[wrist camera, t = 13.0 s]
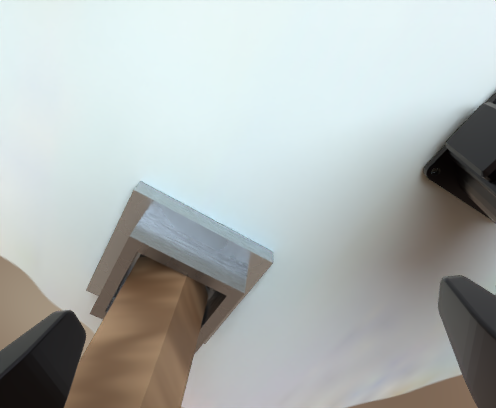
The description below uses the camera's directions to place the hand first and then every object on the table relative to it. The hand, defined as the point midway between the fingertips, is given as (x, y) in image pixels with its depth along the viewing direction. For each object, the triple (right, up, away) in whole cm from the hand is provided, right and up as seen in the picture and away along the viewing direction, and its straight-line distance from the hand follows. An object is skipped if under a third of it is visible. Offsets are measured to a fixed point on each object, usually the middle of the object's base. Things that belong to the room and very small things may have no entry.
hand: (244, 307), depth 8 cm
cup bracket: (-5, -2, +17) cm, 18 cm away
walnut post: (-5, -3, +16) cm, 17 cm away
